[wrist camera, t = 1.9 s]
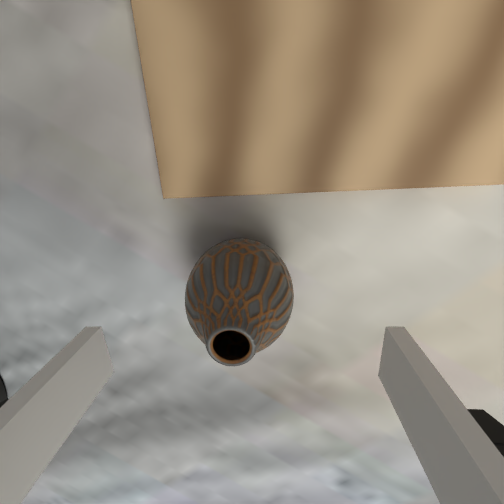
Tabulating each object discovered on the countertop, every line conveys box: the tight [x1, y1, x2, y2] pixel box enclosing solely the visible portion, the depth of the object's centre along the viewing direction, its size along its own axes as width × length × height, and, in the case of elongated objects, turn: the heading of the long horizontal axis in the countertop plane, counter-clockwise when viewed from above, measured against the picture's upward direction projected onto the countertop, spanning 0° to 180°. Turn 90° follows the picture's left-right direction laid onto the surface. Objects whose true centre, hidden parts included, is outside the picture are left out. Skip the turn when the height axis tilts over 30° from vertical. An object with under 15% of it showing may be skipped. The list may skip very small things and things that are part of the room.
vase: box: [185, 239, 294, 366], centre depth 17 cm, size 7×7×9 cm
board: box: [131, 0, 504, 199], centre depth 15 cm, size 24×14×1 cm, turn 93°
